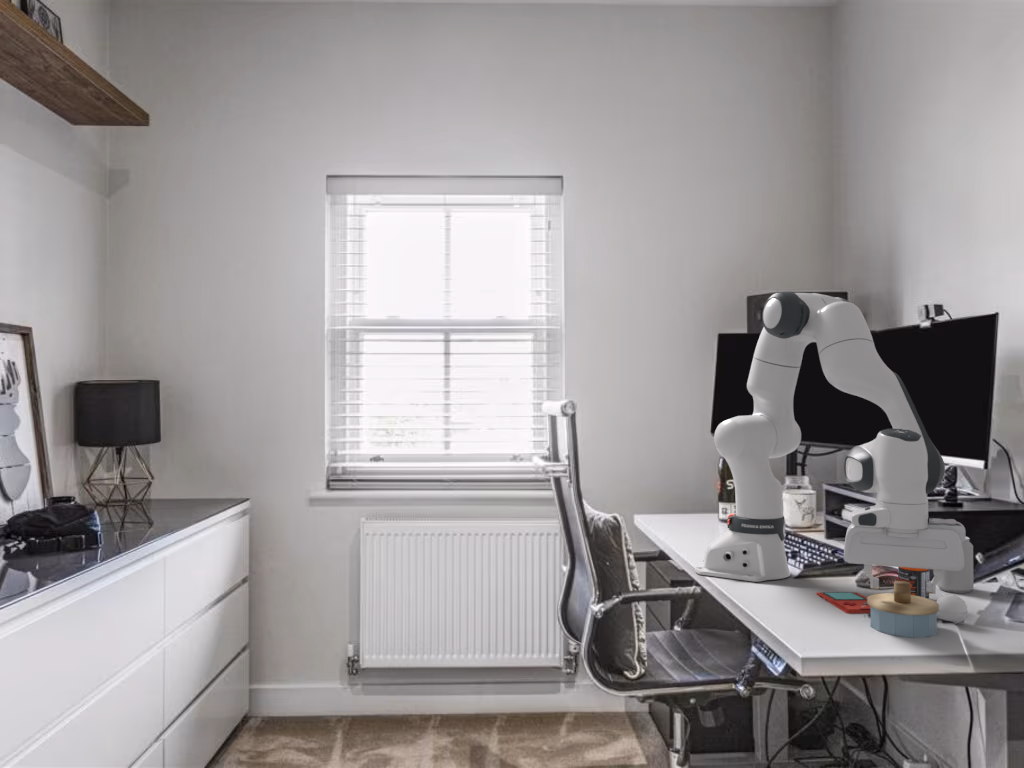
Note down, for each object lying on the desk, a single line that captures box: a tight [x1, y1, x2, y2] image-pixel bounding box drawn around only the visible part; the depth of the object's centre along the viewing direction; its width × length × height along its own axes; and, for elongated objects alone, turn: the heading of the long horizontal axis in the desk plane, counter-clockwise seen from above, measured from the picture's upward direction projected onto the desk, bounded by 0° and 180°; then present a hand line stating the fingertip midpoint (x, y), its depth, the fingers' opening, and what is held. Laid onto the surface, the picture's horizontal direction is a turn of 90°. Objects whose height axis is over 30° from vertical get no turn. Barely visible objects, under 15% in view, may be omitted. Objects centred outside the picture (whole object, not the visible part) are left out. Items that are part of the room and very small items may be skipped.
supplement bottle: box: [897, 567, 930, 599], centre depth 168 cm, size 6×6×11 cm
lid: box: [867, 580, 939, 615], centre depth 149 cm, size 12×12×4 cm
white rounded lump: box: [935, 593, 969, 625], centre depth 153 cm, size 8×6×6 cm
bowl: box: [870, 606, 938, 639], centre depth 149 cm, size 11×11×5 cm
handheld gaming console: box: [815, 591, 871, 614], centre depth 166 cm, size 9×1×15 cm
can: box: [936, 536, 975, 594], centre depth 179 cm, size 8×8×12 cm
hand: (902, 590), depth 149 cm, fingers open, 8 cm apart
